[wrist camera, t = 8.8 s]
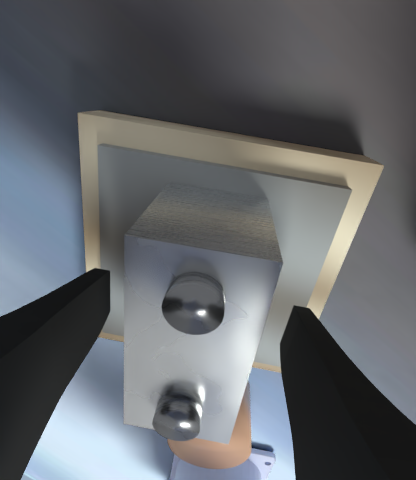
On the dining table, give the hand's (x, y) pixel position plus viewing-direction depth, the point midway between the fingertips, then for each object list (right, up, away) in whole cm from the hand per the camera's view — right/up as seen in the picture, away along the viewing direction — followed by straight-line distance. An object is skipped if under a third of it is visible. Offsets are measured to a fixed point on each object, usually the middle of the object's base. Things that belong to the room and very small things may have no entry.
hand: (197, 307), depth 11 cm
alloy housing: (0, +1, +2) cm, 2 cm away
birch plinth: (+1, +2, +4) cm, 5 cm away
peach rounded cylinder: (+1, -8, +9) cm, 12 cm away
